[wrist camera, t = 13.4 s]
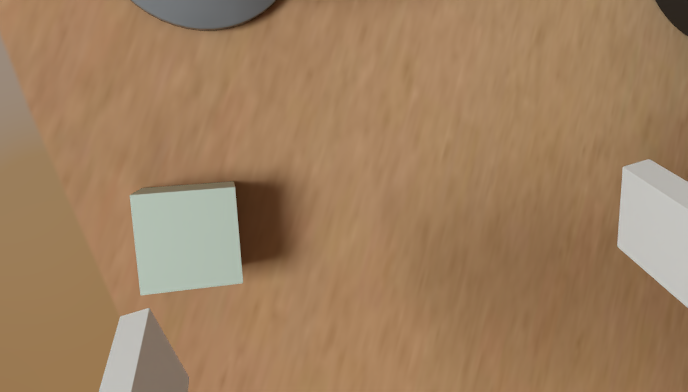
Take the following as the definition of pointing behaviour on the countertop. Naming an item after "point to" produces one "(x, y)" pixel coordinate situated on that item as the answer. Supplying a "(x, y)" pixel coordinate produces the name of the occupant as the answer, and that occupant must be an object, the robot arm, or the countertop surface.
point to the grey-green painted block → (186, 237)
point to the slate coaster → (204, 12)
